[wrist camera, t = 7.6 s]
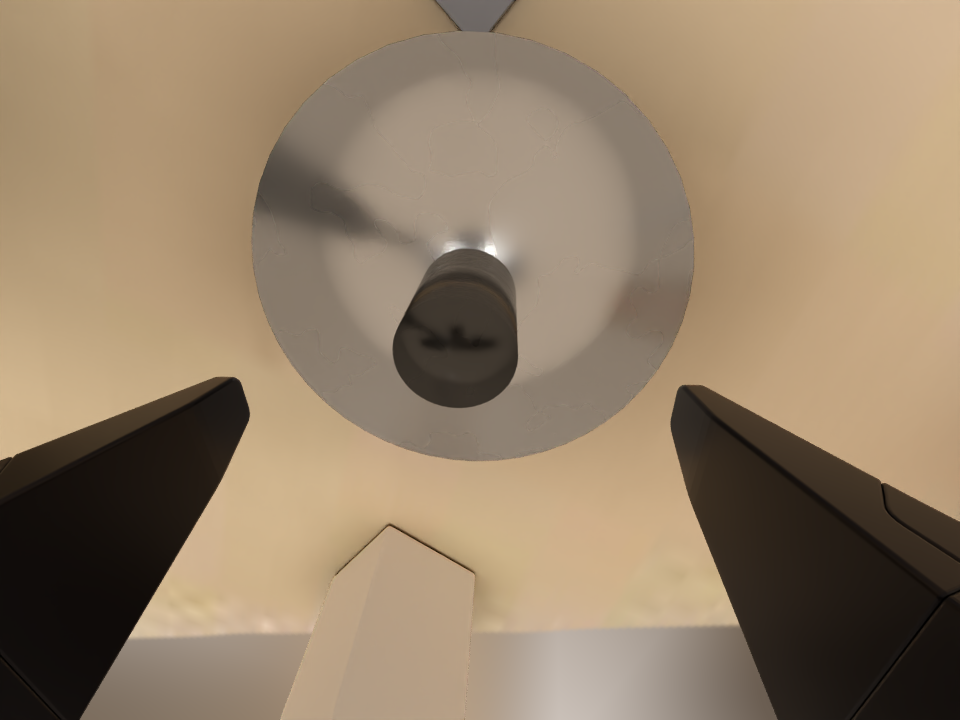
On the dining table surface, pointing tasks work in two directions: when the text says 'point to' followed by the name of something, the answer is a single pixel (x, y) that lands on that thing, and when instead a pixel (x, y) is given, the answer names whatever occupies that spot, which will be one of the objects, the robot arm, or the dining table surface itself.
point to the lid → (472, 246)
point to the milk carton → (389, 638)
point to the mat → (475, 13)
